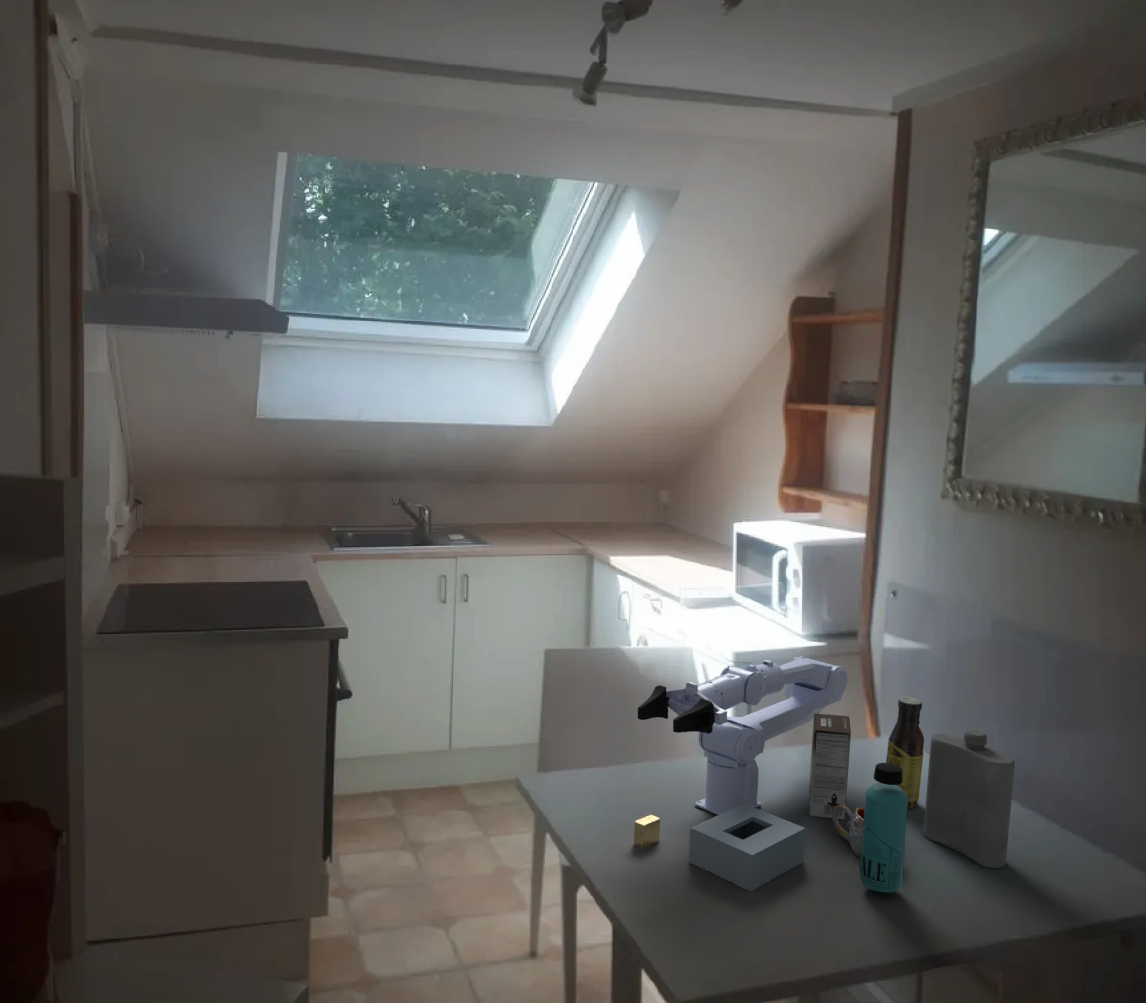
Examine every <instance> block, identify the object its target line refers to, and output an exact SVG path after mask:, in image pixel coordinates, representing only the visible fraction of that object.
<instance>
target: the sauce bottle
mask: <svg viewBox="0 0 1146 1003" xmlns="http://www.w3.org/2000/svg"><path fill="white" fill-rule="evenodd" d="M897 706H898V712H897V719H896V722H895V724H894V727H893V729H892V731H891V733H890V735H889V737H888V741H887V742H888V743H887V750H886V751H887V752H886V758H885V763H892V764H895V765H898V766H900V767H901V768H902V777H903V781H902V783H901V784H899V785H897V786H899V787H900V788H901V789H902V790H903V791H904V792H905V793H906V794H907V796H908V798H909V800H908V805H907V810H909V809H915V808H916V807H917V806H918V801H919V798H920V790H921V779H922V771H923V770H922V768H923V762H924V761H923V760H924V745H925V737H924V733H923V732H922V730H921V727H920V722H921V721H920V717H921V716H920V715H921V711H922V708H923V701H922V700H921V699H919V698H917V697H912V696H901V697H899V698H898V702H897Z"/></svg>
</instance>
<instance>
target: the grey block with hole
mask: <svg viewBox="0 0 1146 1003" xmlns="http://www.w3.org/2000/svg"><path fill="white" fill-rule="evenodd" d="M689 833H690V834H689V850H688V852H689V853H688V863H689V864H692V865H693V864H694V865H693V866H695V865H696V866H695V867H697V866H698V867H697V868H700V869H702V870H704V871H706V872H708V871H710V872H712V873H713V874H712V873H711V874H712V875H714V874H715V876H717V877H719V876H720V877H719V878H721V877H722V878H721V879H723V878H724V879H723V880H725V879H726V880H725V881H727V880H728V881H727V882H729V881H731V882H732V883H731V882H730V883H731V884H733V883H734V884H733V885H736V886H738V887H739V888H742V889H744V890H746V891H748V892H752V891H754V890H755V889H757V888H759V887H761V886H763V885H765V884H766V882H767V883H769V882H770V881H772V880H774V879H775V877H776V876H778V877H779V876H781V875H783V874H785V873H786V872H785V871H787V872H788V871H789V870H793V868H796V867H798V866H799V865H800V864H802V863H804V853H805V838H806V828H805V827H804V826H801V825H799V824H796V823H793V822H791V821H788V820H786V819H784V818H782V817H779V816H776V815H774V814H771V813H768V812H766V811H764V810H761V809H759V808H758V807H756V808H754V807H752V806H749V805H747V804H742V805H740V806H738V807H735V808H733V809H731V810H729V811H726V812H724V813H722V814H720V815H716V816H713V817H711V818H709V819H707V820H703V821H702V822H700V823H698V824H696V825H694V826H691V827H690V831H689ZM710 872H709V873H710ZM784 872H785V873H784ZM782 873H783V874H782ZM780 874H781V875H780ZM773 878H774V879H773ZM776 878H777V877H776ZM771 879H772V880H771ZM769 880H770V881H769ZM764 883H765V884H764ZM762 884H763V885H762Z"/></svg>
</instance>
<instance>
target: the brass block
mask: <svg viewBox="0 0 1146 1003" xmlns="http://www.w3.org/2000/svg"><path fill="white" fill-rule="evenodd" d="M660 829H661V818H660V817H658V816H655V815H653V814H649V815H646V816H645V817H644V816H643V817H641V818H639V819H637V820H634V833H633V834H634V835H633V845H635V846H636V847H638V848H641V849H645V848H647V847H649V846H652V845H654V844H656V843H658V842H660V834H661V833H660V831H661V830H660Z"/></svg>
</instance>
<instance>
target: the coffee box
mask: <svg viewBox="0 0 1146 1003" xmlns="http://www.w3.org/2000/svg"><path fill="white" fill-rule="evenodd" d="M851 730H852V728H851V720H850V716H848V715H839V714H825V713H819V714H814V719H813V725H812V740H811V742H812V743H811V757H810V771H809V772H810V773H809V796H808V797H809V798H808V799H809V803H808V804H809V816H810V817H818V818H825V819H826V818H828V819H832V810H833V809H834V807H836V806H837V805H844V806H846V807H847V793H848V792H847V791H848V779H849V778H848V777H849V767H850V766H849V764H850V752H851V750H850V749H851V738H852V737H851V736H852V731H851ZM837 818H838V820H846V819H845V818H846V812H845V811H844V810H842V809H839V810H838V812H837Z"/></svg>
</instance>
